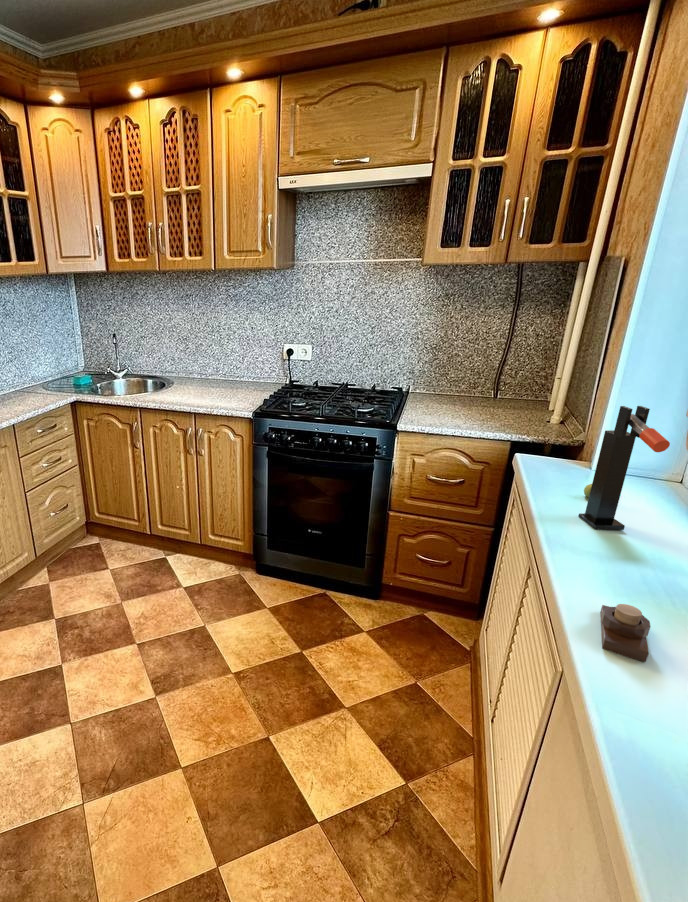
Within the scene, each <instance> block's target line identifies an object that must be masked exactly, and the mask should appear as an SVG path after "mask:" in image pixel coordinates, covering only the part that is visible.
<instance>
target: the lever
mask: <svg viewBox="0 0 688 902" xmlns="http://www.w3.org/2000/svg"><path fill="white" fill-rule="evenodd" d="M628 426H629V427H630V428H633V429H634V430H635V431H636V432H637V433H638V434H640V438H639V439H640V440H641V441H642V442H643V443H644V444H646V446H648V447H649V448H650V449H651V450H652V451H653V452H654V453H662V452H665V451H666V450H668V448H669V447H670V445H671V442H670V441H669V440H668V439H666V438H665V436H664V435H662V434H661V433H660V432H658V430H656V429H655V428H654V427H650V426H648V425H647V423H646V424H644V423H643V422H642V421H641V420H640V419H639V418H638V417H636V416H635V413H631V417H630V421H629V425H628Z"/></svg>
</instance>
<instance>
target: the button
mask: <svg viewBox="0 0 688 902" xmlns="http://www.w3.org/2000/svg"><path fill="white" fill-rule="evenodd" d="M615 607H616V609H615V613H614V618H616V619H617V620H619V621H621V622H623V623H626V624H629V625H638V624H639V622H640V619H641V616H642V615H643V612H642V611H641V609H639V608H637V607H636V606H634V605H631V604H626V603H618V604H617V605H616V606H615Z"/></svg>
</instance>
